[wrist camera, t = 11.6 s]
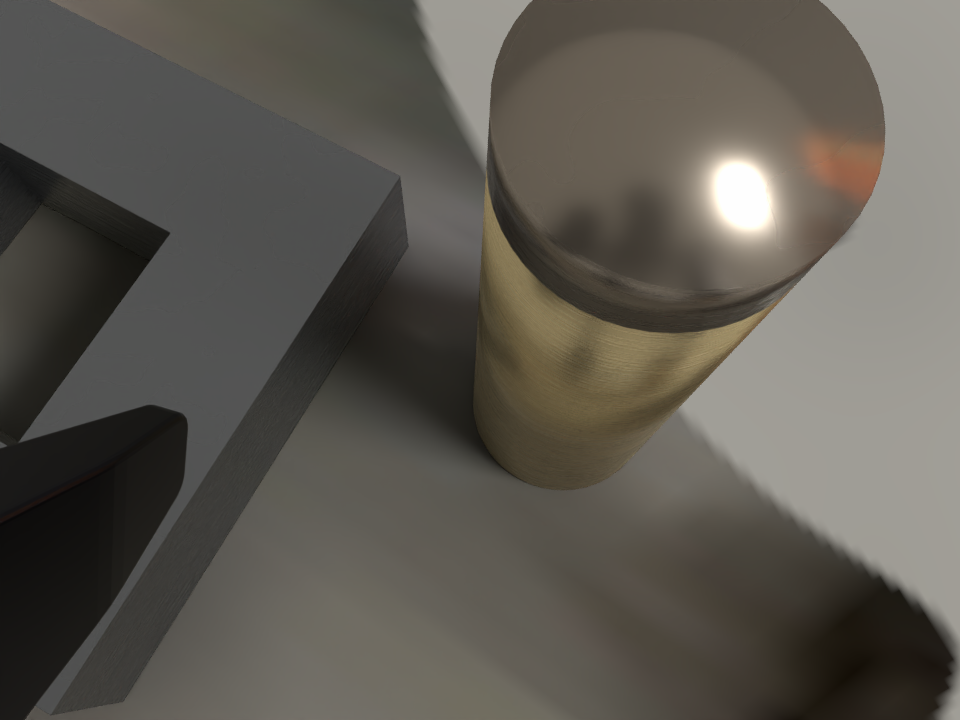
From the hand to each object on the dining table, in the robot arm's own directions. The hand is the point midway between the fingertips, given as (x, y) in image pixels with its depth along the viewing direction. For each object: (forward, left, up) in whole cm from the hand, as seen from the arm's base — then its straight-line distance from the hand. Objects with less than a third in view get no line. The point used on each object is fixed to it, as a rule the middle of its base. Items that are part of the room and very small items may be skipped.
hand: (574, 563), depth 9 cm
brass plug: (+6, +1, -13) cm, 15 cm away
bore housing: (+1, +14, -13) cm, 20 cm away
